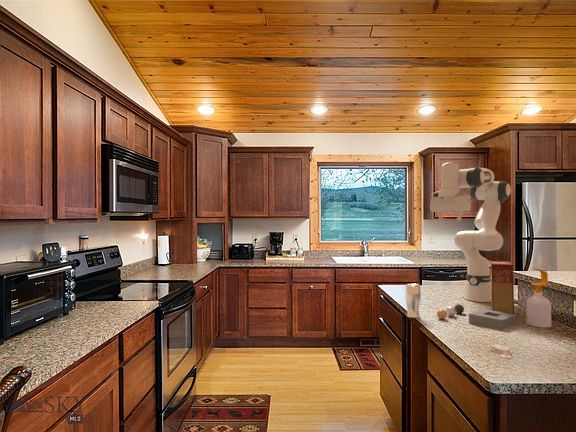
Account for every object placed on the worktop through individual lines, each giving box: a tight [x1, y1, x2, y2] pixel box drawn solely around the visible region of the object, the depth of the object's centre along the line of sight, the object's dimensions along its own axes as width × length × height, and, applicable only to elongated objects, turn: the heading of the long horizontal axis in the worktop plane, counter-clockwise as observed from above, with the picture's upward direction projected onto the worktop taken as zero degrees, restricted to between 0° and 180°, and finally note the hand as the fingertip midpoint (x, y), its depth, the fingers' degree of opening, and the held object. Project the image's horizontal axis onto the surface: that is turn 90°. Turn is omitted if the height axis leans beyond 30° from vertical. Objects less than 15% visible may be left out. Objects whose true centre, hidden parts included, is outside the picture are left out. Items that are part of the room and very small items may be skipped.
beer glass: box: [405, 283, 422, 319], centre depth 181 cm, size 7×7×15 cm
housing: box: [468, 308, 517, 331], centre depth 168 cm, size 14×14×4 cm
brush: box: [489, 344, 513, 360], centre depth 132 cm, size 9×9×2 cm
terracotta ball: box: [436, 308, 448, 320], centre depth 176 cm, size 4×4×4 cm
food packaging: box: [490, 260, 515, 314], centre depth 182 cm, size 13×9×25 cm
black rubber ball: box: [453, 303, 465, 314], centre depth 186 cm, size 4×4×4 cm
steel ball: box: [445, 306, 456, 317], centre depth 181 cm, size 4×4×4 cm
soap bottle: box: [525, 267, 552, 329], centre depth 165 cm, size 9×9×25 cm
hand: (449, 220), depth 195 cm, fingers open, 8 cm apart
